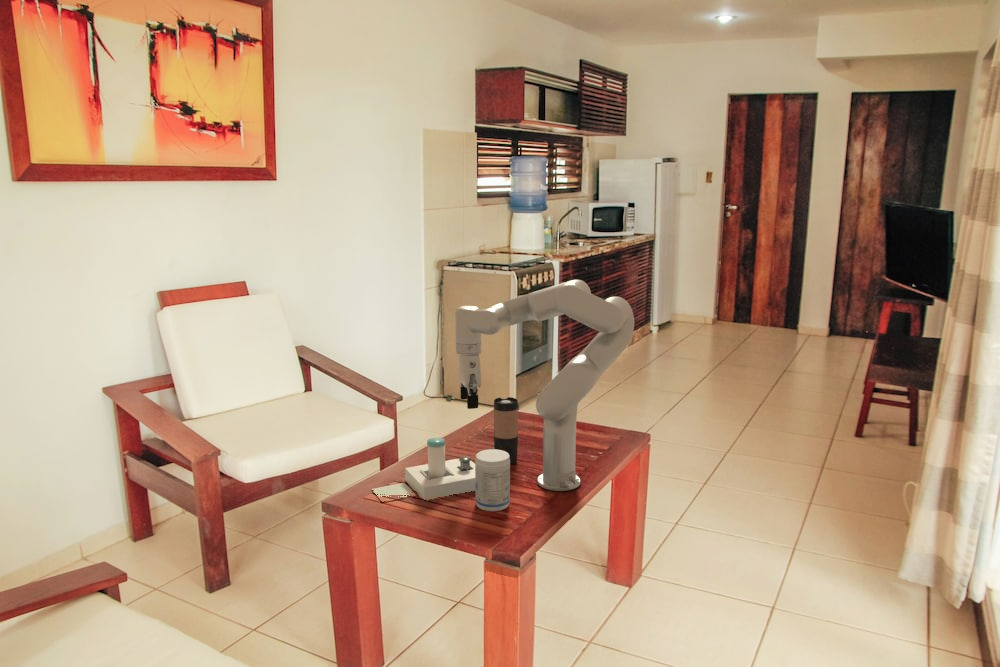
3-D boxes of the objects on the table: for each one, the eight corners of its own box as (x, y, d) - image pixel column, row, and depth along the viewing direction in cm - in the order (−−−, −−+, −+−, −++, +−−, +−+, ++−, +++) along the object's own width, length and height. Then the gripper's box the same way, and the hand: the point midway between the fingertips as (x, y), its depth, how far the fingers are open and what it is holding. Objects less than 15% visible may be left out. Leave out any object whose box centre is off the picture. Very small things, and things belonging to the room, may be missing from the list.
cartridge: (448, 487, 221) (447, 442, 218) (432, 491, 219) (430, 445, 216) (442, 481, 226) (441, 436, 223) (425, 484, 224) (424, 439, 221)
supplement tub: (474, 498, 214) (473, 449, 211) (508, 497, 215) (507, 447, 212) (476, 513, 204) (476, 462, 201) (511, 512, 205) (511, 460, 202)
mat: (415, 496, 215) (415, 495, 215) (381, 503, 211) (381, 502, 211) (404, 483, 224) (404, 482, 224) (371, 489, 220) (371, 488, 220)
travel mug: (508, 467, 237) (508, 405, 233) (489, 461, 241) (488, 401, 237) (522, 459, 243) (522, 399, 238) (503, 454, 247) (503, 395, 243)
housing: (488, 487, 221) (488, 474, 220) (424, 501, 212) (423, 486, 212) (466, 469, 235) (466, 456, 234) (405, 480, 226) (404, 467, 226)
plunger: (473, 474, 225) (473, 459, 224) (462, 476, 223) (461, 461, 222) (468, 470, 228) (468, 455, 227) (457, 472, 227) (457, 457, 226)
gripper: (487, 353, 217) (488, 411, 221) (474, 341, 234) (475, 394, 237) (462, 355, 215) (462, 413, 219) (450, 342, 232) (451, 396, 235)
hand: (469, 403), depth 228 cm, fingers open, 9 cm apart
